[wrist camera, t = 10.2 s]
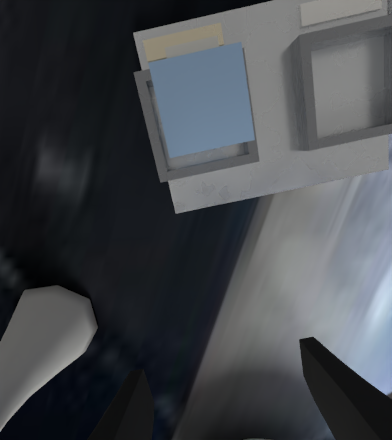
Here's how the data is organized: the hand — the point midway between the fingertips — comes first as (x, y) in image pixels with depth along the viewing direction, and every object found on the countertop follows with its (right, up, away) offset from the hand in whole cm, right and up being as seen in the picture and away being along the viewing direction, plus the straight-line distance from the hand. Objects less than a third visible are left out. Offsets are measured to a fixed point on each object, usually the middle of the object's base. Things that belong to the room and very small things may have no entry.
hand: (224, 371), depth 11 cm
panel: (+4, +15, +7) cm, 17 cm away
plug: (-1, +14, +6) cm, 15 cm away
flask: (-14, -2, +11) cm, 18 cm away
